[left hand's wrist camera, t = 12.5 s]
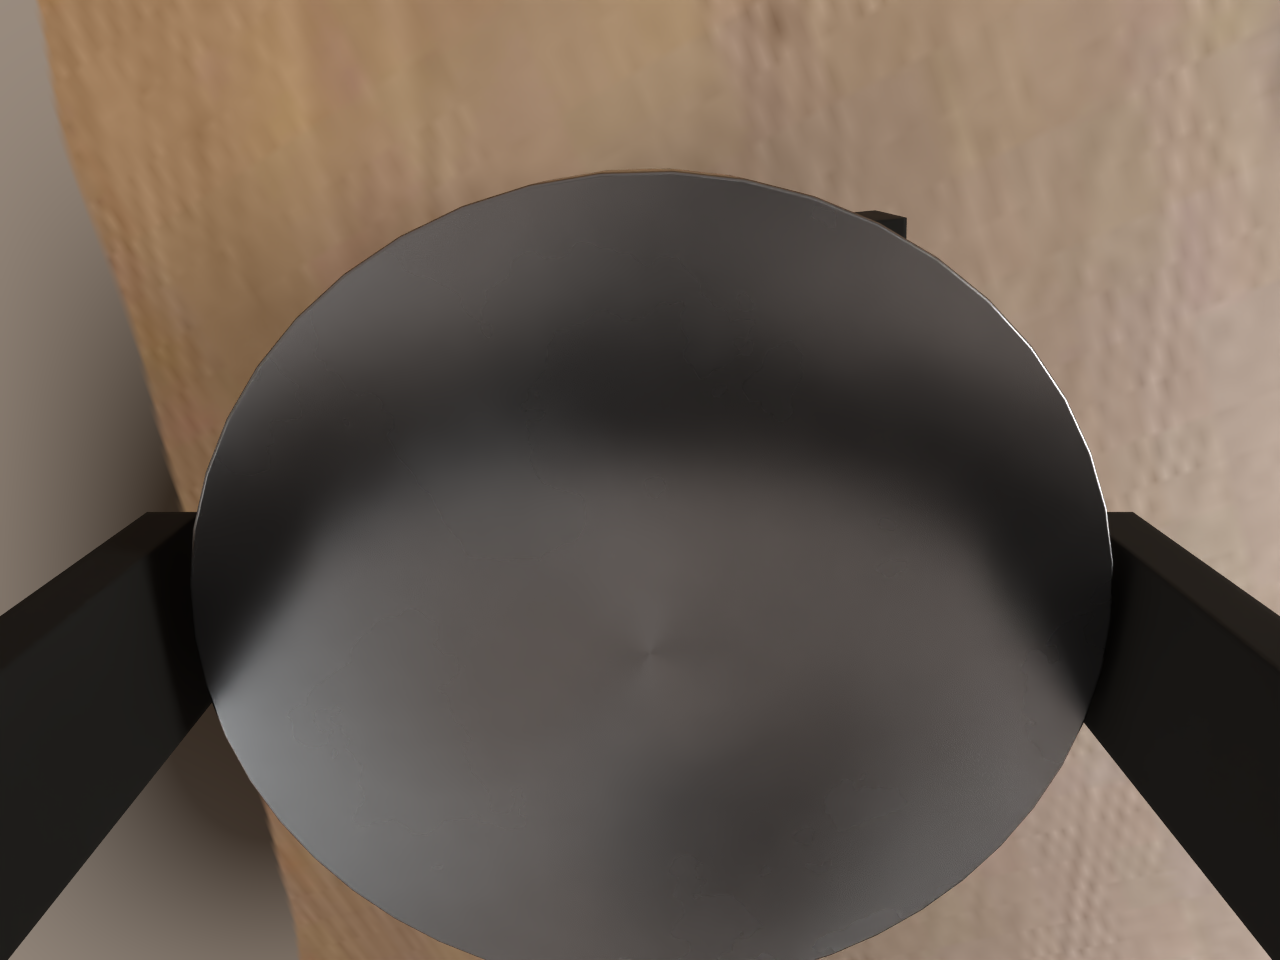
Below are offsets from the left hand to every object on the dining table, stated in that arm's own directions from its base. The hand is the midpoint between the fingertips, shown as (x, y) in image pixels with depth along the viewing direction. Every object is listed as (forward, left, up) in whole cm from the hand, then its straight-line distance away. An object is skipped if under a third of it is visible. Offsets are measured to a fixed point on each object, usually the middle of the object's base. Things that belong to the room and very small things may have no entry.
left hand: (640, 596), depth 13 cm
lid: (0, 0, +1) cm, 1 cm away
